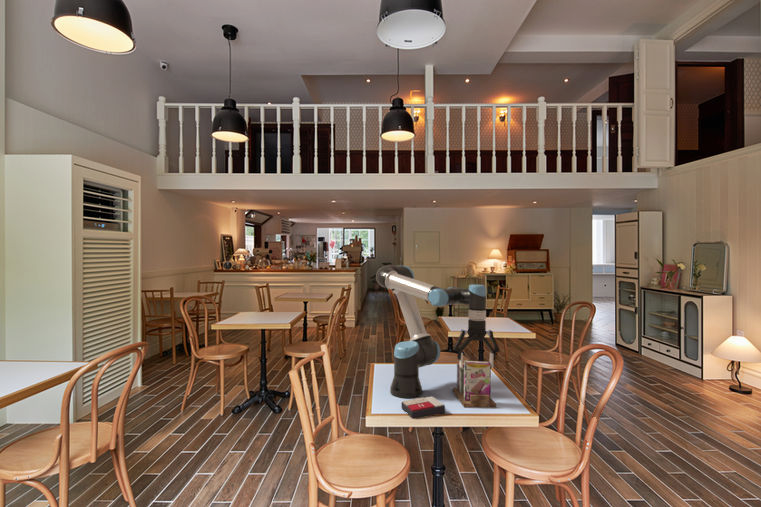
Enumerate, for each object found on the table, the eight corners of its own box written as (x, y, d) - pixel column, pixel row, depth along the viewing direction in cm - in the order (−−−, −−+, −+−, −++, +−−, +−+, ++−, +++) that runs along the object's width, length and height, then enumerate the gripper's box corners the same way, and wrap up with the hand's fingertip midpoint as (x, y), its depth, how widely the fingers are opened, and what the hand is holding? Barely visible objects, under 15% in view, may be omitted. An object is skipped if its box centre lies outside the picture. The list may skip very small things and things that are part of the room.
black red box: (401, 400, 155) (432, 394, 160) (401, 410, 155) (432, 404, 160) (411, 410, 145) (445, 403, 150) (412, 421, 145) (445, 414, 150)
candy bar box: (465, 401, 160) (465, 363, 161) (463, 396, 165) (463, 360, 166) (491, 402, 159) (491, 364, 160) (488, 398, 164) (488, 361, 165)
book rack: (464, 407, 157) (464, 374, 157) (452, 390, 178) (452, 361, 178) (496, 407, 157) (496, 374, 158) (481, 390, 178) (481, 361, 179)
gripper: (451, 320, 159) (450, 369, 158) (507, 321, 160) (507, 370, 159) (447, 317, 166) (446, 364, 166) (501, 318, 167) (500, 365, 167)
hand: (476, 367), depth 163 cm, fingers open, 13 cm apart
